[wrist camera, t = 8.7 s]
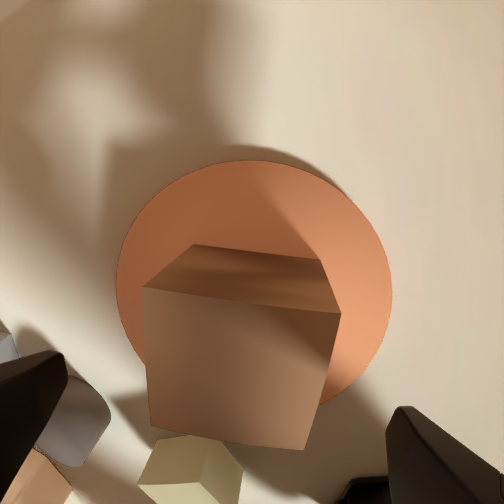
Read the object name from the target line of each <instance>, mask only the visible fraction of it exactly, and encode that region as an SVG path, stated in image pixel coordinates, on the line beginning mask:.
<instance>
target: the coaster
mask: <svg viewBox="0 0 504 504" xmlns="http://www.w3.org/2000/svg"><path fill="white" fill-rule="evenodd" d="M193 244H197V245H205V246H213V247H221V248H229V249H237V250H245V251H253V252H262V253H270V254H278V255H286V256H294V257H302V258H310V259H318V260H321V263H322V265H323V268H324V270H325V273H326V275H327V278H328V280H329V283H330V285H331V288H332V290H333V293H334V295H335V298H336V300H337V303H338V306H339V308H340V311H341V313H342V314H341V319H340V323H339V328H338V332H337V336H336V340H335V344H334V348H333V352H332V356H331V360H330V364H329V368H328V372H327V375H326V379H325V383H324V386H323V390H322V393H321V397H320V400H319V404H318V405H320V404H322V403H324V402H326V401H328V400H330V399H331V398H333V397H334V396H336V395H337V394H339V393H340V392H342V391H343V390H344V389H345V388H347V387H348V386H349V385H350V384H351V383H353V382H354V381H355V380H356V379H357V378H358V377H359V375H360V374H361V373H362V372H363V371H364V370H365V369H366V367H367V366H368V365H369V363H370V362H371V360H372V359H373V357H374V356H375V354H376V352H377V350H378V348H379V347H380V345H381V343H382V340H383V338H384V335H385V332H386V329H387V327H388V322H389V317H390V313H391V304H392V283H391V273H390V269H389V265H388V261H387V256H386V254H385V251H384V249H383V246H382V244H381V241H380V239H379V237H378V235H377V234H376V232H375V230H374V229H373V227H372V225H371V223H370V222H369V221H368V219H367V218H366V217H365V216H364V214H363V213H362V212H361V211H360V209H359V208H358V207H357V206H356V205H355V204H354V203H353V202H352V201H351V200H350V199H349V198H348V197H346V196H345V195H344V194H343V193H342V192H341V191H339V190H338V189H336V188H335V187H333V186H332V185H330V184H329V183H328V182H326V181H324V180H322V179H320V178H318V177H316V176H314V175H312V174H310V173H308V172H306V171H303V170H300V169H297V168H294V167H291V166H288V165H284V164H279V163H273V162H268V161H251V160H242V161H232V162H223V163H219V164H215V165H211V166H208V167H204V168H201V169H199V170H196V171H194V172H192V173H189V174H187V175H185V176H183V177H181V178H180V179H178V180H176V181H175V182H173V183H171V184H170V185H168V186H167V187H166V188H164V189H163V190H162V191H161V192H159V193H158V194H157V195H156V196H155V197H154V198H153V199H152V200H151V201H150V202H149V203H148V204H147V205H146V206H145V207H144V208H143V210H142V211H141V212H140V214H139V215H138V217H137V218H136V220H135V221H134V223H133V224H132V226H131V228H130V230H129V232H128V234H127V236H126V238H125V240H124V243H123V246H122V249H121V253H120V256H119V261H118V267H117V273H116V294H117V303H118V309H119V313H120V317H121V321H122V324H123V327H124V329H125V332H126V334H127V337H128V339H129V341H130V342H131V344H132V346H133V348H134V350H135V352H136V353H137V354H138V356H139V357H140V359H141V360H142V362H143V363H144V364H145V350H144V331H143V300H142V286H144V285H145V284H146V283H147V282H148V281H149V280H151V279H152V278H153V277H154V276H155V275H157V274H158V273H159V272H160V271H161V270H162V269H164V268H165V267H166V266H167V265H168V264H170V263H171V262H172V261H173V260H174V259H176V258H177V257H178V256H179V255H180V254H182V253H183V252H184V251H185V250H186V249H188V248H189V247H190V246H191V245H193Z"/></svg>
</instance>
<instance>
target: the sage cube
mask: <svg viewBox="0 0 504 504" xmlns="http://www.w3.org/2000/svg"><path fill="white" fill-rule="evenodd" d="M242 475H243V469H242V468H241V466H240V465H239V464H238V463H237V461H236V460H235V459H234V457H233V456H232V455H231V454H230V452H229V451H228V450H227V448H226V447H225V446H224V444H223V443H222V442H221V441H220V440H214V439H208V438H203V437H198V436H193V435H186V436H180V437H173V438H166V439H158V440H157V442H156V444H155V446H154V448H153V451H152V453H151V455H150V457H149V459H148V462H147V464H146V466H145V468H144V470H143V472H142V475H141V477H140V479H139V481H138V483H137V485H138V486H139V487H140V488H141V489H142V490H143V491H144V492H145V493H146V494H147V495H148V496H149V497H150V498H151V499H152V500H153V501H155V502H156V503H157V504H238V500H239V493H240V487H241V481H242Z"/></svg>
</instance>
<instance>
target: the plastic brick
mask: <svg viewBox="0 0 504 504" xmlns="http://www.w3.org/2000/svg"><path fill="white" fill-rule="evenodd" d="M18 358H19V355H18V352H17V350H16V347H15V344H14V340H13V337H12V334H9V333H5V332H1V331H0V363H4V362H8V361H11V360H15V359H18Z"/></svg>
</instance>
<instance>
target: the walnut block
mask: <svg viewBox="0 0 504 504" xmlns="http://www.w3.org/2000/svg"><path fill="white" fill-rule="evenodd" d="M142 300H143V331H144V350H145V366H146V379H147V390H148V400H149V410H150V419H151V426H154V427H158V428H162V429H166V430H170V431H175V432H179V433H184V434H188V435H193V436H198V437H203V438H208V439H214V440H220V441H226V442H232V443H239V444H246V445H254V446H262V447H271V448H282V449H294V450H304V448H305V445H306V442H307V439H308V436H309V433H310V430H311V427H312V424H313V420H314V417H315V414H316V410H317V407H318V404H319V400H320V397H321V393H322V390H323V386H324V383H325V379H326V375H327V372H328V368H329V364H330V360H331V356H332V352H333V348H334V344H335V340H336V336H337V332H338V328H339V323H340V319H341V314H342V313H341V311H340V308H339V306H338V303H337V300H336V298H335V295H334V293H333V290H332V288H331V285H330V283H329V280H328V278H327V275H326V273H325V270H324V268H323V265H322V263H321V260H318V259H310V258H302V257H294V256H286V255H278V254H270V253H262V252H253V251H245V250H237V249H229V248H221V247H213V246H205V245H197V244H193V245H191V246H190V247H189V248H188V249H186V250H185V251H184V252H183V253H182V254H180V255H179V256H178V257H177V258H176V259H174V260H173V261H172V262H171V263H170V264H168V265H167V266H166V267H165V268H164V269H162V270H161V271H160V272H159V273H158V274H157V275H155V276H154V277H153V278H152V279H151V280H149V281H148V282H147V283H146V284H145V285H144V286H142Z"/></svg>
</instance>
